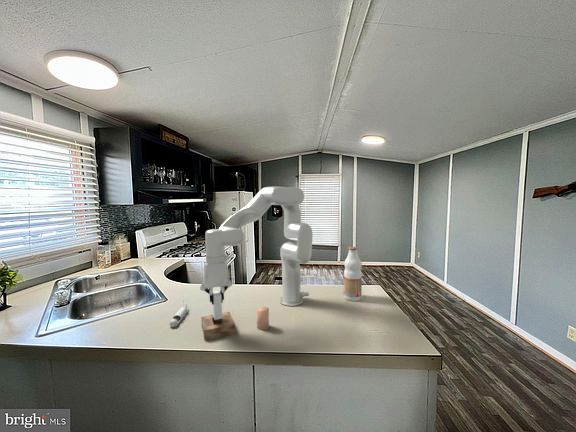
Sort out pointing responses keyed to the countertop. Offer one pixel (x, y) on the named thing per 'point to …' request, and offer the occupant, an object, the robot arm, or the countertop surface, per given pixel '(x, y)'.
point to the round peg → (263, 318)
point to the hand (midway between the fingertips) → (216, 302)
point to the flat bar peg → (217, 305)
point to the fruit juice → (352, 276)
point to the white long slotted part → (179, 316)
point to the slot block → (217, 326)
